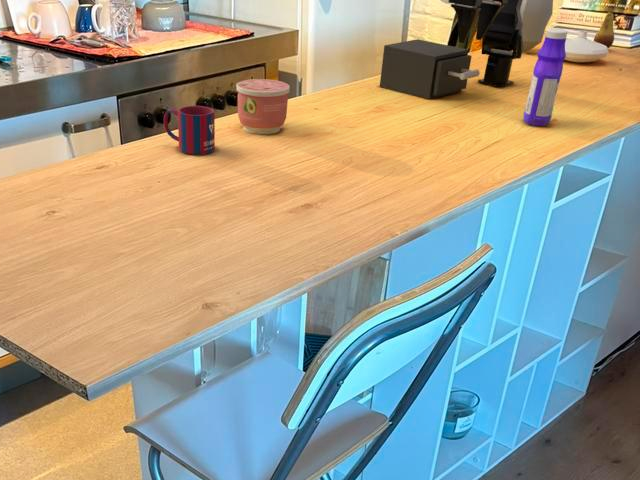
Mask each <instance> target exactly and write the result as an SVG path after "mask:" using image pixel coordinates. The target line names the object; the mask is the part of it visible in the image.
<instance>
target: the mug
mask: <svg viewBox="0 0 640 480" xmlns="http://www.w3.org/2000/svg"><path fill="white" fill-rule="evenodd" d="M170 113H172V114H174V115H175V116H177V128H178V129H177V131H178V132H177V133H178V135H175V133H173V132H172V131H171V129H170V127H169V123H168V121H169V119H168V118H169V114H170ZM215 115H216V113H215V109H214V108H212V107H209V106H203V105H186V106H182V107H180V108H178V109H174V108H173V109H172V108H171V109H168V110H166V111H165V113H164V116H163V126H164V129H165V130H164V131H165V133H167V135H168V136H169V137H170V138H172V140H174V141H176V142H178V150H179V152H181V153H183V154H186V155H193V156H202V155H208V154H211V153H213V152H214V151H215V146H216V144H215V143H216V141H215V136H216V135H215V134H216V133H215V127H216V126H215V124H216V123H215V121H216V120H215V117H216V116H215Z"/></svg>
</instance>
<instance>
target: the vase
mask: <svg viewBox="0 0 640 480" xmlns="http://www.w3.org/2000/svg"><path fill="white" fill-rule="evenodd" d="M587 35H588V31H587V30H582V29H581V30H578V33H577V36H576V37H572V38H571V37H570V38H566V42H565V53H566V57H565V58H564V60H563V61H567V62H571V63H592V62H597V61H600V60H601V59H603V58H605V57H607V55H608V53H609V52H610V51H609V48H607V46H605V45H603V44H600V43H597V42H595V41H594V40H592V39H588V38H587Z"/></svg>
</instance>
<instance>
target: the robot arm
mask: <svg viewBox="0 0 640 480" xmlns="http://www.w3.org/2000/svg"><path fill="white" fill-rule="evenodd" d="M522 1H523V0H448V1H447V2H448V3H449V4H450V7H451V8H453V10H454V12H455V13H456V17H457V31H458V32H457V33H458V43H460V44H464V43H465V42H466V40H467V38H468V36H469V34H470V32H471V30H472V29H473V26H474V24H475V22H476V21H477V25H476V34H475V35H476V36H475V39H476V40H477V41H481V40H482V41H481V55H487V61H486V64H485V70H484V75H483V78H481V79H478V80H477V82H478V83H479V84H484V85H487V86H492V87H497V88H502V87H506V86H510V85H513V84H514V81H513V80H510V75H511V69H512V65H513V60H516V59H518V60H520V59H521V58H522V54H523V53H524V52H523V47H524V46H523V37H522V31H521V30H522V26H523V22H522V17H521V13H520V8H521V5H522Z"/></svg>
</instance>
